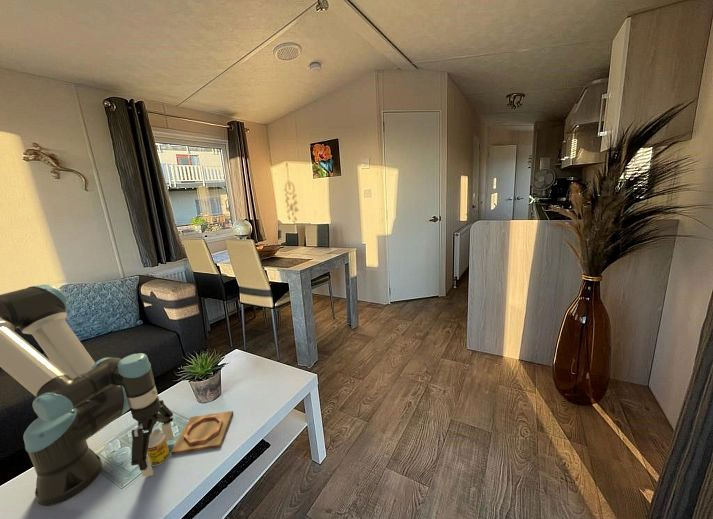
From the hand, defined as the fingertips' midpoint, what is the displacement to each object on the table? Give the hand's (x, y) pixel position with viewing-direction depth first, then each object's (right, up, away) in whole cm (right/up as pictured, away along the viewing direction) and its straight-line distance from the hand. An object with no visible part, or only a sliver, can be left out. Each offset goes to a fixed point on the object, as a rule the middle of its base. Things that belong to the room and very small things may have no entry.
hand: (159, 456), depth 98 cm
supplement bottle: (0, -1, 0) cm, 2 cm away
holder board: (+10, +2, +10) cm, 14 cm away
